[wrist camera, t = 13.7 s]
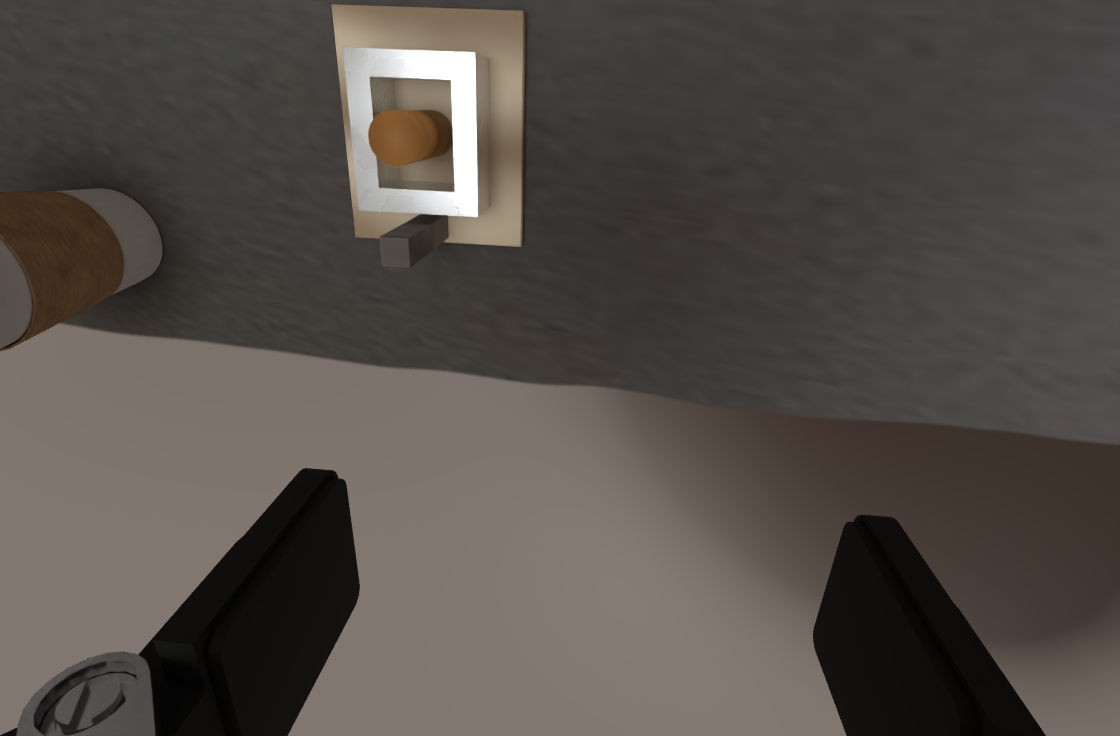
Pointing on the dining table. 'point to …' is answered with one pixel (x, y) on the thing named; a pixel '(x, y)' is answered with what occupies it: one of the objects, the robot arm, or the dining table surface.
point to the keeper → (439, 123)
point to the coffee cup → (68, 255)
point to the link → (470, 121)
